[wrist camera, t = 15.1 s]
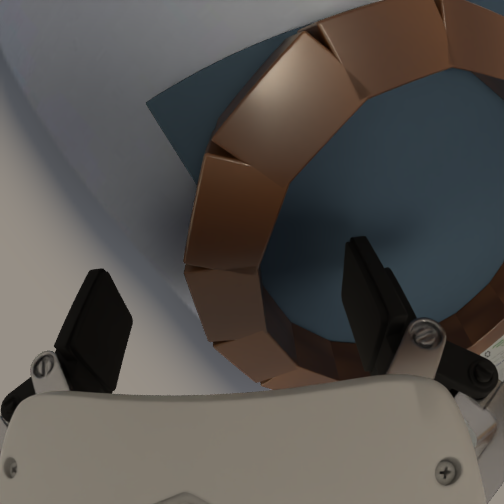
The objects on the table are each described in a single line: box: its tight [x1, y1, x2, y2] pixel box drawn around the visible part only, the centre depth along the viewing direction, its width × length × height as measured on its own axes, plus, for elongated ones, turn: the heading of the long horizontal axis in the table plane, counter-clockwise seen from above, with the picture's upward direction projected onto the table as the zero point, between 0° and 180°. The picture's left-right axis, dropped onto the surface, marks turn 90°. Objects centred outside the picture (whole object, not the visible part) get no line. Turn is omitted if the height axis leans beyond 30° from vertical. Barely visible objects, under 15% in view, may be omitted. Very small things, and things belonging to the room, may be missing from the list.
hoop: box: [183, 0, 504, 390], centre depth 11 cm, size 20×20×3 cm
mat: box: [146, 0, 504, 343], centre depth 13 cm, size 20×16×1 cm
